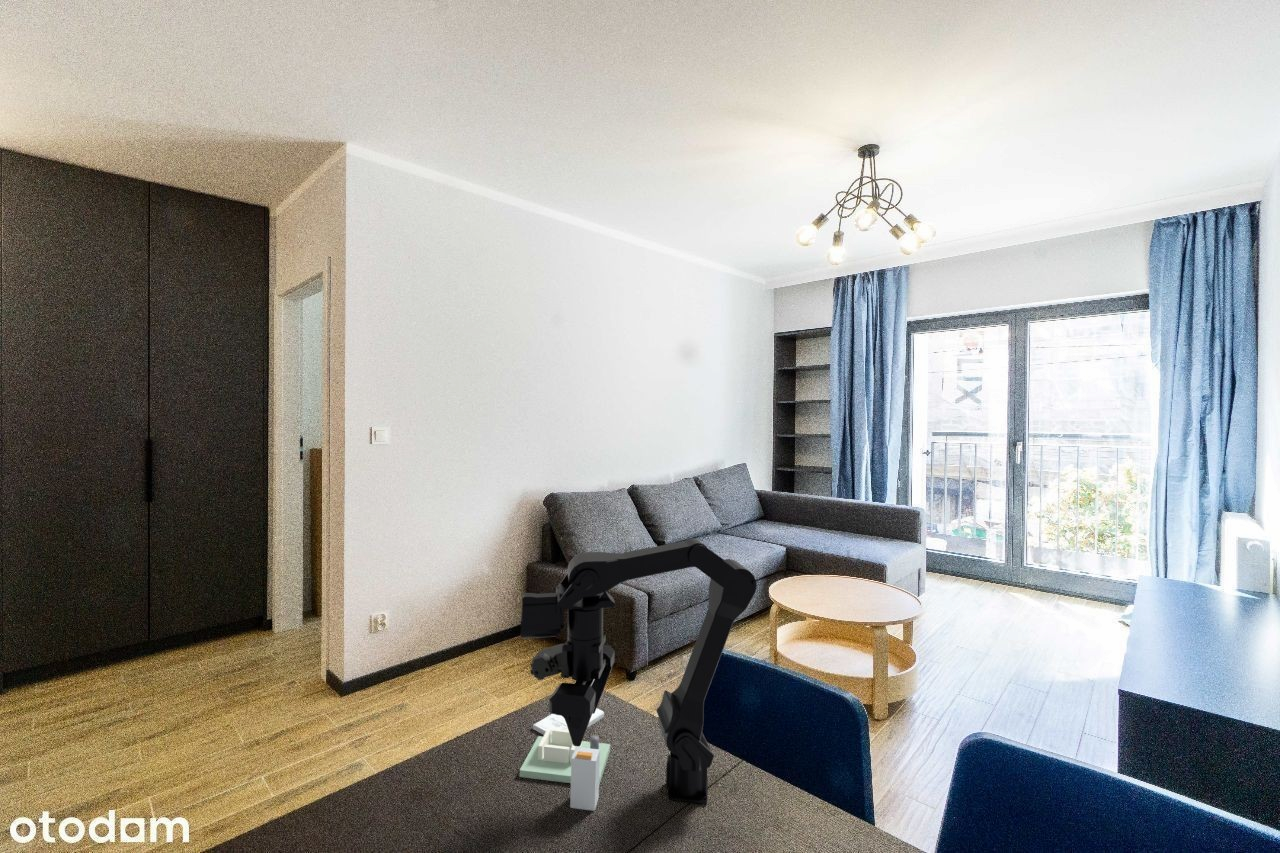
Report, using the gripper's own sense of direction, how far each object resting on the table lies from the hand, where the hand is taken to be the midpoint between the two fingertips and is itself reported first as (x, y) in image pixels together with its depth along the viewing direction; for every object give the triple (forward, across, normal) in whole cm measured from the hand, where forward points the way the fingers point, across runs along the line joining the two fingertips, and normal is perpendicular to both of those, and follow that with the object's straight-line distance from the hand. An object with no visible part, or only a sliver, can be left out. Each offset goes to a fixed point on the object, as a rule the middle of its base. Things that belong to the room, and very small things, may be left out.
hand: (584, 728), depth 87 cm
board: (+12, -8, -5) cm, 15 cm away
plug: (+12, 0, 0) cm, 12 cm away
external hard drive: (+13, -21, -9) cm, 26 cm away
